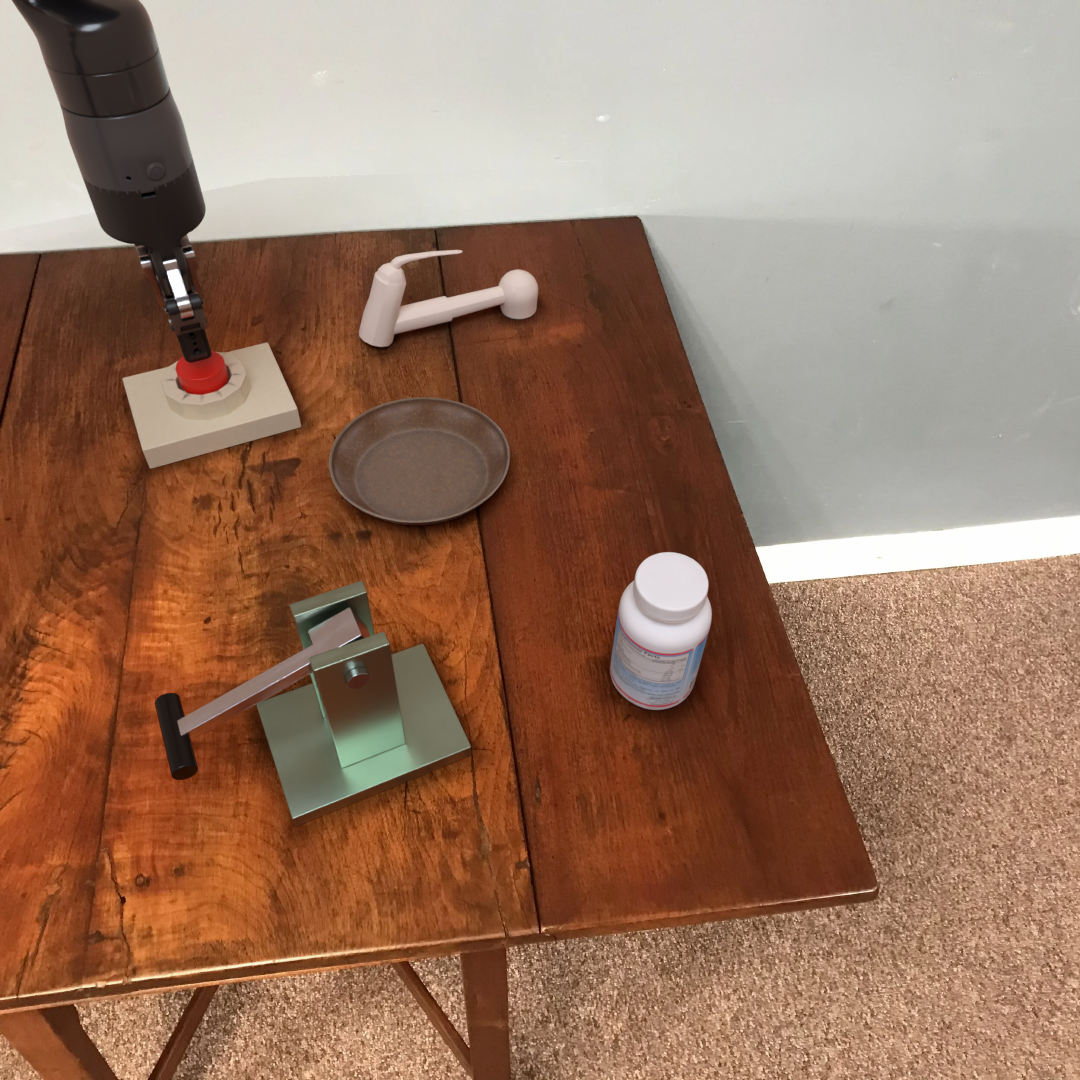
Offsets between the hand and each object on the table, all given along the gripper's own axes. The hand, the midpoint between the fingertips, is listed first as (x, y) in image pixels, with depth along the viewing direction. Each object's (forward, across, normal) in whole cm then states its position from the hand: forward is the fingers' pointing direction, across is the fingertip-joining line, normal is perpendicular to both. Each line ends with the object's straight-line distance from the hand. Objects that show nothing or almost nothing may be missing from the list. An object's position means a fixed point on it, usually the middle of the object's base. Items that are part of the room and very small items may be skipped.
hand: (197, 355), depth 79 cm
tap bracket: (+6, +36, +2) cm, 37 cm away
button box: (+6, 0, 0) cm, 6 cm away
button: (+3, 0, 0) cm, 3 cm away
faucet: (+6, -4, +24) cm, 25 cm away
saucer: (+6, +15, +14) cm, 21 cm away
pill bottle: (+6, +40, +22) cm, 46 cm away
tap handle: (-2, +36, -3) cm, 36 cm away
